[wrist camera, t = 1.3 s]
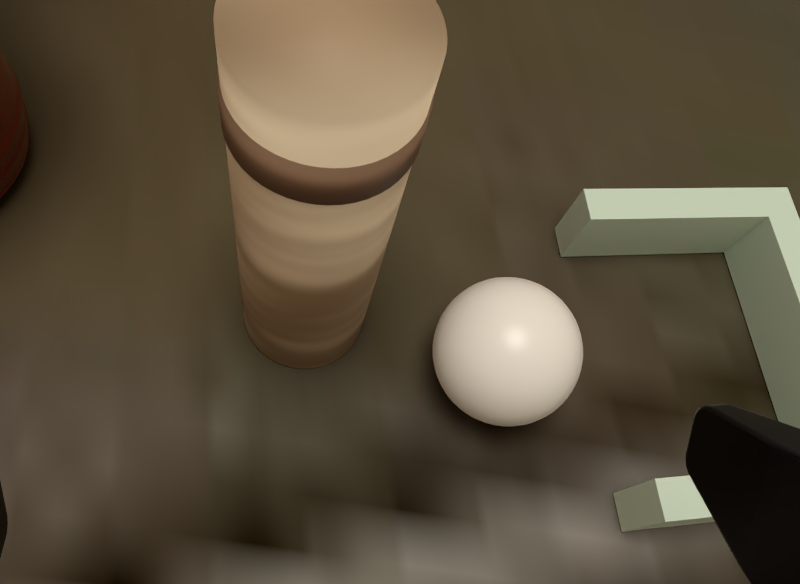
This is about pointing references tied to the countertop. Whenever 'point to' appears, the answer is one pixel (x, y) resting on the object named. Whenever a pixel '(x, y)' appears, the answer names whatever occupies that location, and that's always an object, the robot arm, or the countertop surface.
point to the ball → (507, 351)
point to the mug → (11, 127)
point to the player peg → (320, 156)
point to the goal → (752, 276)
